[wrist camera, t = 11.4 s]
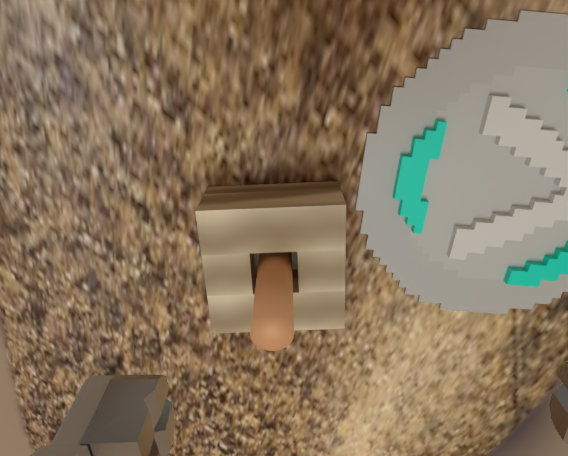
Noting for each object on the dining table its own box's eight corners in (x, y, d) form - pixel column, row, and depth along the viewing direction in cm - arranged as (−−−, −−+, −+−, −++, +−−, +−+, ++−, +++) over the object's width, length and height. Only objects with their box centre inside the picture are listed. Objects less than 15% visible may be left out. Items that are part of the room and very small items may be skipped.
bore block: (207, 186, 40) (195, 210, 34) (337, 181, 39) (346, 204, 34) (221, 296, 45) (212, 333, 39) (337, 292, 44) (344, 328, 39)
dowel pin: (258, 238, 40) (248, 315, 29) (291, 236, 40) (293, 314, 29) (261, 266, 41) (251, 351, 30) (292, 265, 41) (294, 350, 30)
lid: (599, 316, 46) (609, 325, 45) (339, 298, 45) (341, 307, 44) (730, 30, 35) (749, 29, 33) (386, -1, 34) (391, -3, 32)
